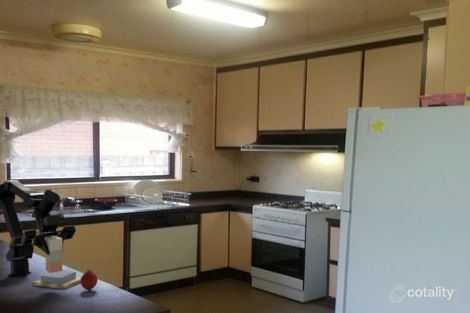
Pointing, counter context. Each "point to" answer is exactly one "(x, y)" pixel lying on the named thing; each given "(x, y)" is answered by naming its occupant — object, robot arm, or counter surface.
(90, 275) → the onion
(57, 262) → the brick column
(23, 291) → the counter surface
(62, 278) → the base brick
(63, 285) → the board
